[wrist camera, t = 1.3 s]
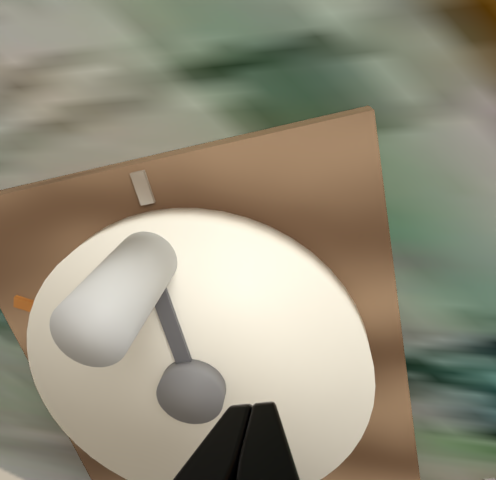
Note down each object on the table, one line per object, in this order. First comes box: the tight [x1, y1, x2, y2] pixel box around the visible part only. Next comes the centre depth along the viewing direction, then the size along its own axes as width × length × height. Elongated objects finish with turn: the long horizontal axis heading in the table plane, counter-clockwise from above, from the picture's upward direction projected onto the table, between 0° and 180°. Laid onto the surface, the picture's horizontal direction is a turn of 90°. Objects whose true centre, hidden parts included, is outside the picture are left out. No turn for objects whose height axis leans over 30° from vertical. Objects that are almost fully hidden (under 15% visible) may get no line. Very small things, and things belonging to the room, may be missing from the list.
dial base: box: [0, 106, 420, 480], centre depth 21 cm, size 20×19×2 cm
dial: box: [27, 208, 375, 480], centre depth 17 cm, size 16×16×7 cm
